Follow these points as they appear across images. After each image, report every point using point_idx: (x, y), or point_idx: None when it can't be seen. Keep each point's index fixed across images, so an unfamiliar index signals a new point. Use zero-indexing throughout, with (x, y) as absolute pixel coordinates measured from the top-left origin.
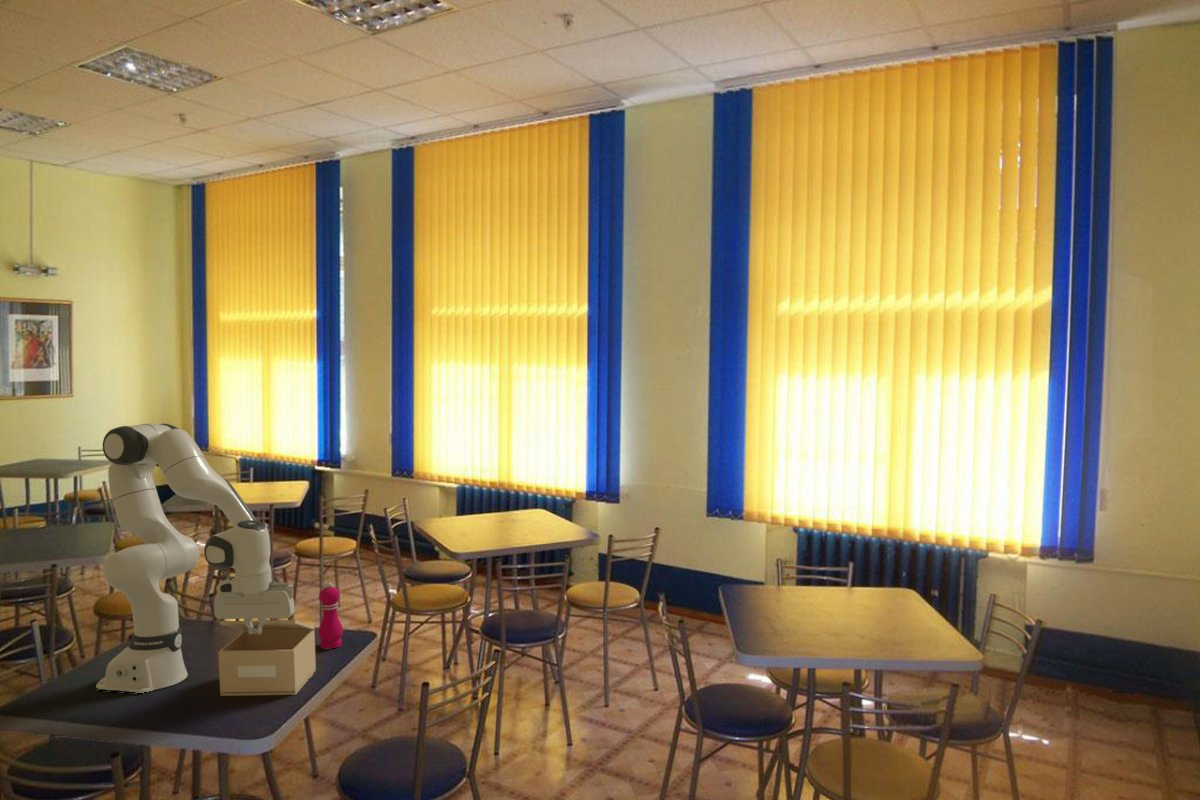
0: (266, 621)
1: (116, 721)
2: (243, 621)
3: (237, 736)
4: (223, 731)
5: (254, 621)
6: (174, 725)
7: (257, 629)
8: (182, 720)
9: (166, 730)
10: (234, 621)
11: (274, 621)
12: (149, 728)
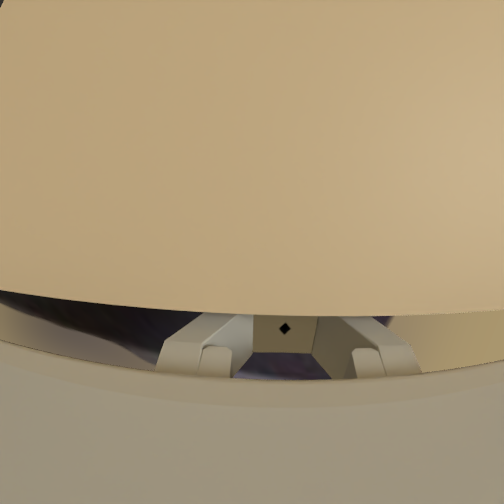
0: (401, 312)
1: (23, 294)
2: (114, 303)
3: (302, 375)
4: (264, 359)
5: (251, 312)
6: (138, 327)
7: (312, 345)
8: (139, 308)
9: (138, 343)
10: (32, 294)
11: (473, 308)
12: (99, 331)
